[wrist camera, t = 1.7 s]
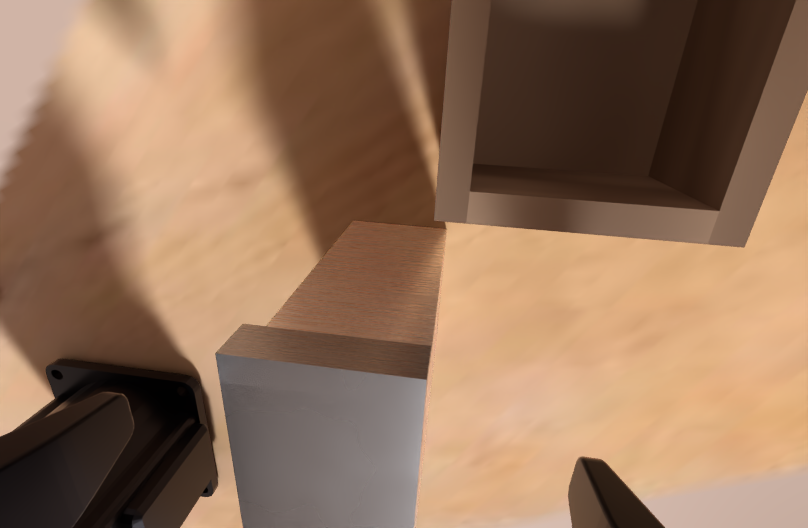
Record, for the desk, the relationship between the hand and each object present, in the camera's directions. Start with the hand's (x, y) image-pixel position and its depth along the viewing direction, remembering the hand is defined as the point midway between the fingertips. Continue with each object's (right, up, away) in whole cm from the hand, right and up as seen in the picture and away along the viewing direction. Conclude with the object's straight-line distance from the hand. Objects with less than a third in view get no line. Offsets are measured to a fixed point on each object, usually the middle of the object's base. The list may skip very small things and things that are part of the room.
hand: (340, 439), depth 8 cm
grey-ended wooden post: (+1, +3, +6) cm, 7 cm away
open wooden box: (+5, +9, +2) cm, 11 cm away
